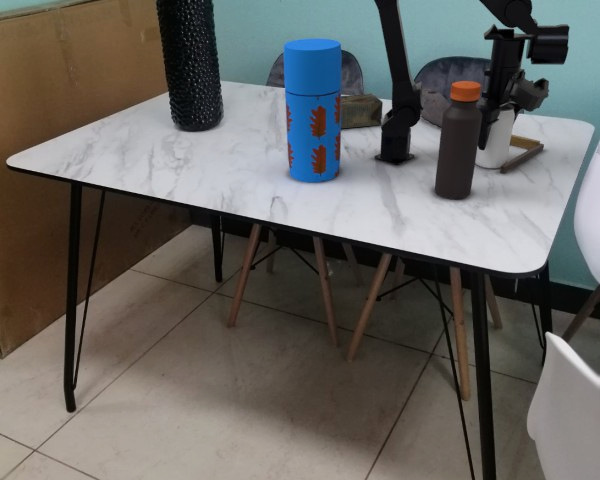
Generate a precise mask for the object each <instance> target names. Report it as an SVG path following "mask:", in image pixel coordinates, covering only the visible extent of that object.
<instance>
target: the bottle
mask: <svg viewBox="0 0 600 480" xmlns="http://www.w3.org/2000/svg"><path fill="white" fill-rule="evenodd" d="M481 90H482V84H481V83H479V82H478V81H477V82H476V81H472V80H461V81H455V82H453V83H452V84H451V87H450V101H451V104H450V107H448V108H447V109H446V110H445V111H444V113H443V118H442V127H440V136H439V146H438V155H437V164H436V174H435V180H434V181H435V182H434V192H435V194H436V195H437V196H439V197H441V198H443V199H448V200H460V199H465V198H467V197H468V196H470V195H471V192H472V185H473V179H474V173H475V166H476V163H475V160H476V153H477V147H478V140H479V134H480V127H481V120H482V113H481V112H480V110H479V109H478V108H477V106H476V104H477V102H478V101H479V99H480V97H481Z"/></svg>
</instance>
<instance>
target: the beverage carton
mask: <svg viewBox="0 0 600 480" xmlns="http://www.w3.org/2000/svg"><path fill="white" fill-rule="evenodd" d="M383 104H384V102H383V101H382V100H381V99H380V98H379V97H378V96H376V95H375V93H367V94H365V93H364V94H352V95H351V94H350V95H341V129H351V128H361V127H372V126H373V127H374V126H382V121H383V106H384V105H383Z"/></svg>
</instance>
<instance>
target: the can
mask: <svg viewBox="0 0 600 480" xmlns="http://www.w3.org/2000/svg"><path fill="white" fill-rule="evenodd" d="M513 109H514V106H513V105H511V104H506V105H504V106H502V107H501V109H500V114H499V116H498V118H497V119H499V120H498V121H497V122H496V123H495V124H493V125H492V126H491V130H490V133H489V137H488V141H487V144H486V147H485V150H479V148H478V147H477V153H476V160H475V166H477V167H479V168H482V169H487V170H498V169H501V166H502V165H503V164H505V163H507V159H508V155H509V148H510V139H511V134H512V133H513V128H514V125H513V123H514V124H515V122H514V118H515V114H514V110H513ZM512 135H513V134H512Z"/></svg>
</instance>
